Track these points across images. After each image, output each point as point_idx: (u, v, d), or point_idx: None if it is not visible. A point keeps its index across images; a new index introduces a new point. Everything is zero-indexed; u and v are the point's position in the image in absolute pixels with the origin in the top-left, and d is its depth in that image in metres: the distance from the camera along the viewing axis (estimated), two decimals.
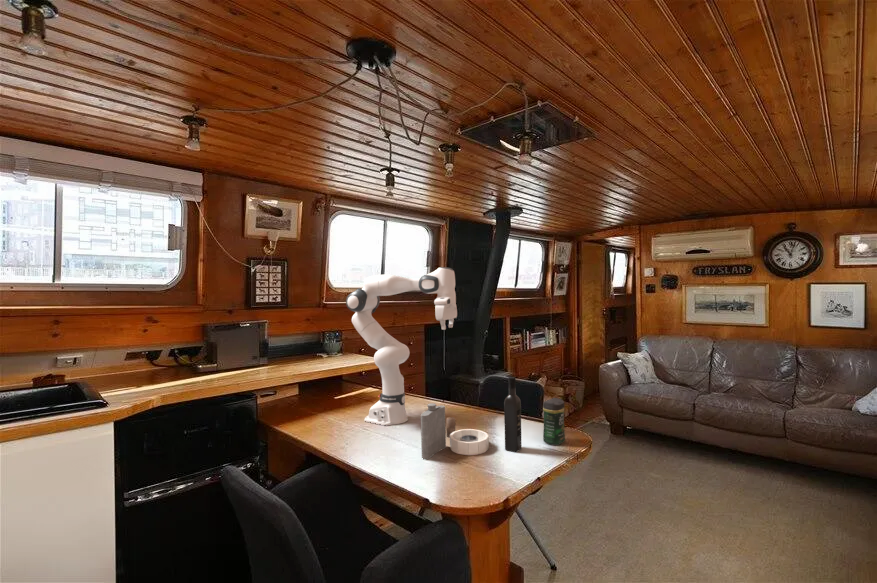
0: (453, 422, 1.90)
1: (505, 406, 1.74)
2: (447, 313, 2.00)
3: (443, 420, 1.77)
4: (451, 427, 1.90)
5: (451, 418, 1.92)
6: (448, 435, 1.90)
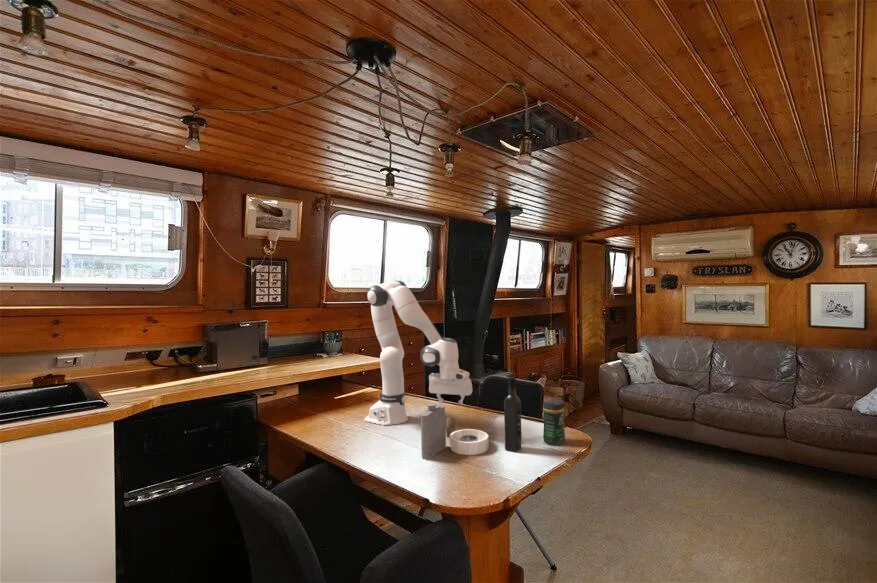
0: (453, 422, 1.90)
1: (505, 406, 1.74)
2: None
3: (443, 420, 1.77)
4: (451, 427, 1.90)
5: (451, 418, 1.92)
6: (448, 435, 1.90)
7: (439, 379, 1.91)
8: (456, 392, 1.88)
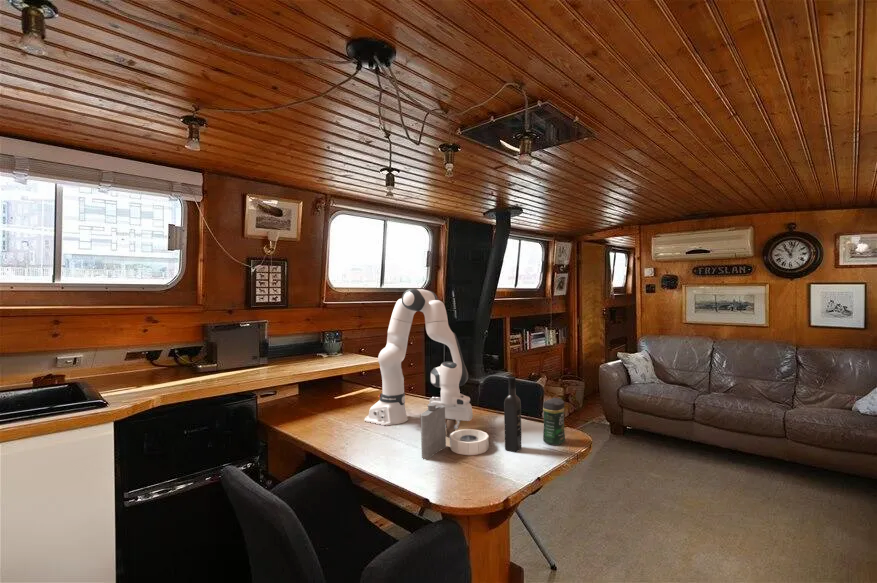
0: (453, 422, 1.90)
1: (505, 406, 1.74)
2: None
3: (443, 420, 1.77)
4: (451, 427, 1.90)
5: None
6: (448, 435, 1.90)
7: (440, 403, 1.92)
8: (456, 417, 1.89)
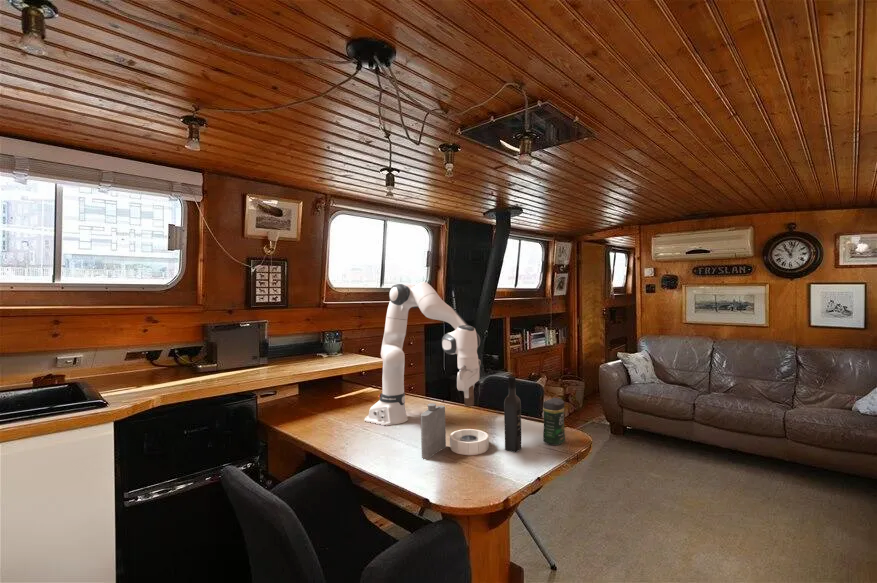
0: None
1: (505, 406, 1.74)
2: None
3: (443, 420, 1.77)
4: None
5: None
6: (473, 403, 1.77)
7: (468, 371, 1.74)
8: (475, 380, 1.81)
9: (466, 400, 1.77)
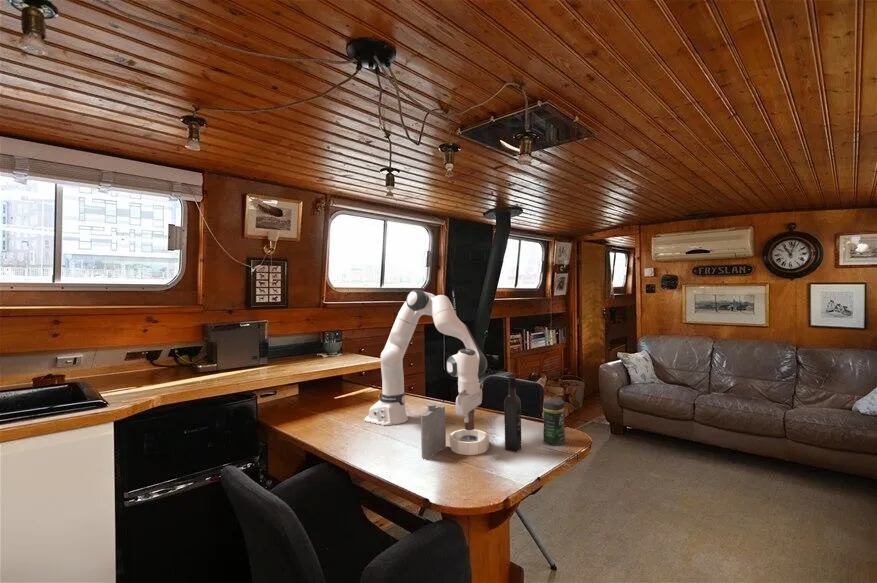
0: None
1: (505, 406, 1.74)
2: None
3: (443, 420, 1.77)
4: None
5: None
6: (473, 427, 1.77)
7: (468, 396, 1.73)
8: (476, 404, 1.81)
9: (466, 424, 1.77)
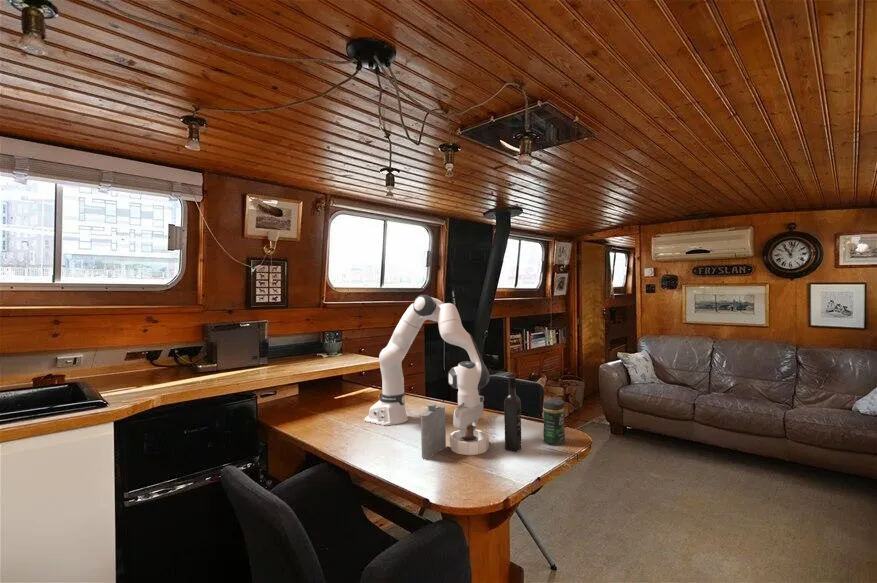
0: None
1: (505, 406, 1.74)
2: None
3: (443, 420, 1.77)
4: None
5: (467, 425, 1.78)
6: None
7: (466, 409, 1.73)
8: (476, 417, 1.80)
9: None
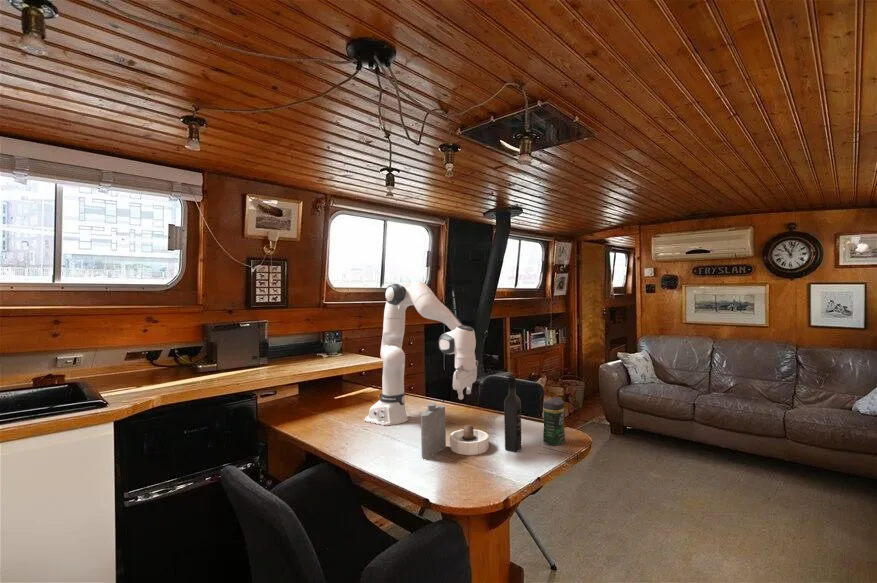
0: None
1: (505, 406, 1.74)
2: None
3: (443, 420, 1.77)
4: None
5: (467, 425, 1.78)
6: None
7: (465, 372, 1.74)
8: (471, 381, 1.82)
9: None
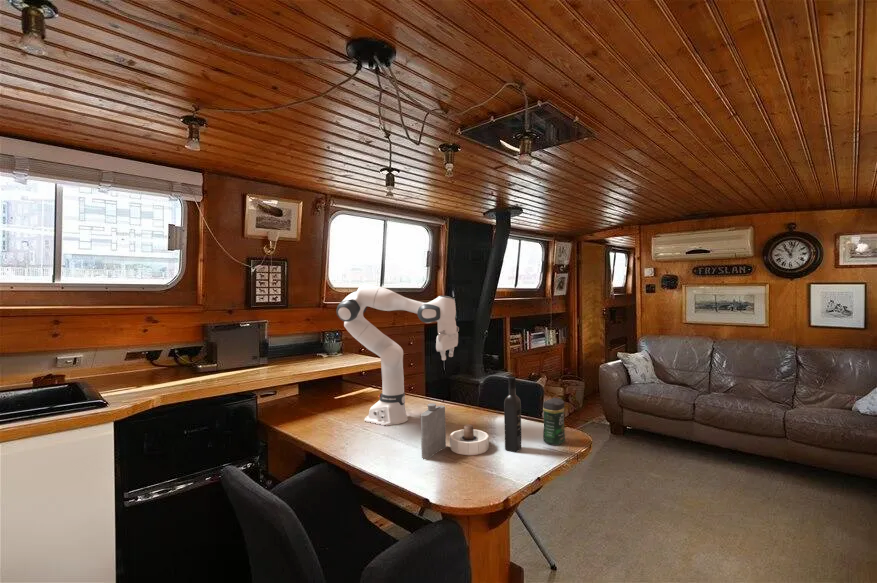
0: None
1: (505, 406, 1.74)
2: None
3: (443, 420, 1.77)
4: None
5: (467, 425, 1.78)
6: None
7: (447, 335, 1.96)
8: (453, 345, 2.03)
9: None
